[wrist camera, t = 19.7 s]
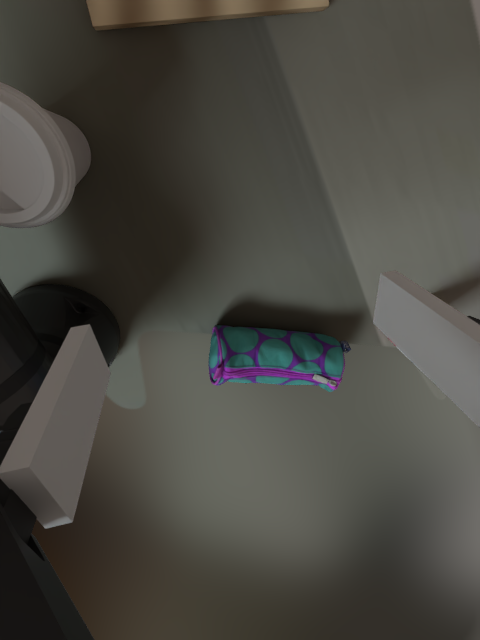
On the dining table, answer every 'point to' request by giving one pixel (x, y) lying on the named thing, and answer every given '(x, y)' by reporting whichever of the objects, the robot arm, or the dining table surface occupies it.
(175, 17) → the board
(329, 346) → the pencil case
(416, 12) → the dining table surface
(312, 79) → the dining table surface
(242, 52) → the dining table surface
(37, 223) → the coffee cup
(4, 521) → the robot arm
